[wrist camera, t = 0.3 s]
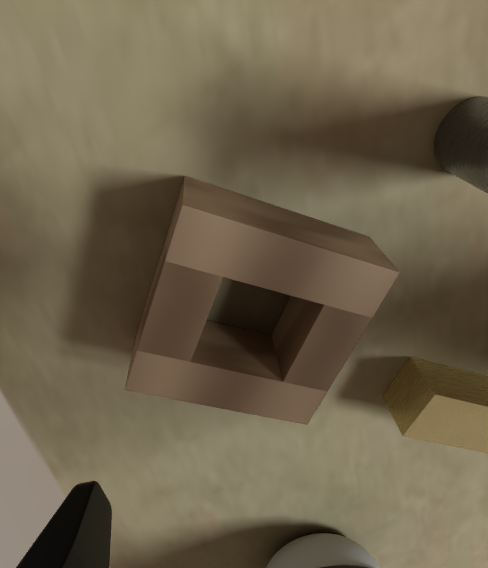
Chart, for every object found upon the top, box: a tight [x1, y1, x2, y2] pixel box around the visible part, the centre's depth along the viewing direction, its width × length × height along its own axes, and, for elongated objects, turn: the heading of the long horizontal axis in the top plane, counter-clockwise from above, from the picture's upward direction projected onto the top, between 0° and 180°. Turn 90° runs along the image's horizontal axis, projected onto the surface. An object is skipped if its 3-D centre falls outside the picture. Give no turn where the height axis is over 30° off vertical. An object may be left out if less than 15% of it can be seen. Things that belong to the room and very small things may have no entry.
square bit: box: [382, 357, 488, 453], centre depth 25 cm, size 8×3×3 cm, turn 69°
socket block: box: [125, 176, 400, 425], centre depth 20 cm, size 9×9×4 cm
